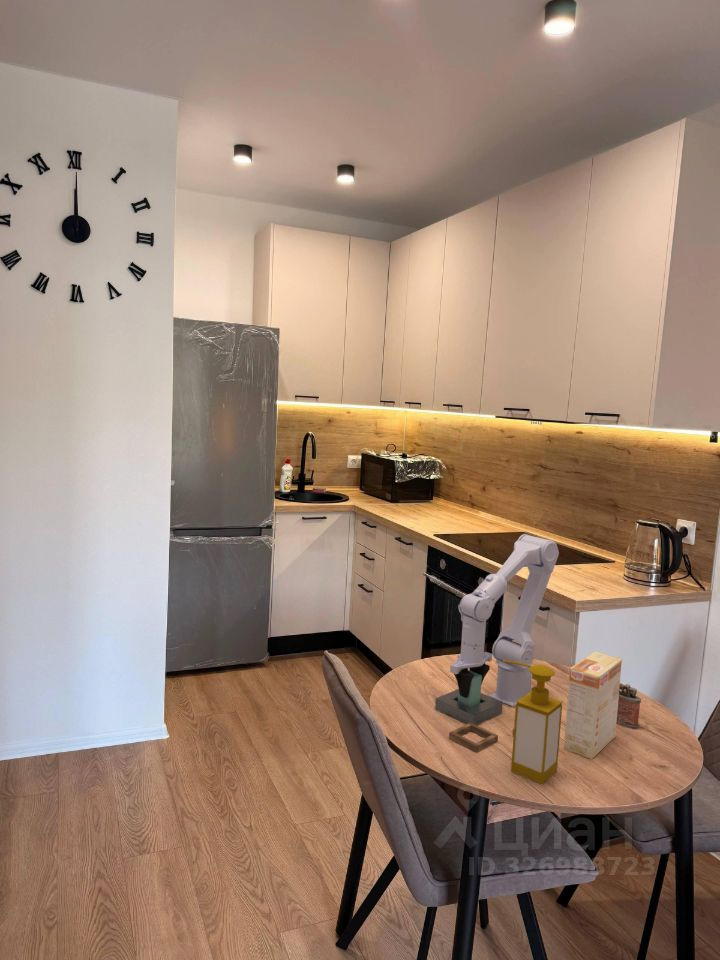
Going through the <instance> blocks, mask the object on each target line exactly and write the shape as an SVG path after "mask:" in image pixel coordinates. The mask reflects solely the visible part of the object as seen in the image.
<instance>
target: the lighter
mask: <svg viewBox="0 0 720 960" xmlns="http://www.w3.org/2000/svg"><path fill="white" fill-rule="evenodd" d="M637 691H638V689H637V688H635V687H632V686H631V685H630V684H628V683H626V684H623V683H622V682H620V687H619V699H618V711H617V722H616V725H618V726H620V727H623V728H628V729H632V730H638V729H639V728H640V727H639V726H640V725H639V720H640V719H639V718H640V717H639V716H640V707H641V703H642V698H641V697H640V696H638V695H637V693H638V692H637Z"/></svg>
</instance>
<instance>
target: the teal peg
mask: <svg viewBox="0 0 720 960" xmlns="http://www.w3.org/2000/svg"><path fill="white" fill-rule="evenodd" d="M468 670H469V669H468ZM469 672H471V673H473V674H475V675H474V676H473V678H472V681H471V684H470V690H469V695H468V697H467V698H465V697H462V696H460V692H459V688H458V702H460V703H462V704H464V705H467V706H469V707H474V706H476V705H478V704H480V696H481V693H482V685H481V681H482V675H480V674H477V673H475V672H472V671H470V670H469Z"/></svg>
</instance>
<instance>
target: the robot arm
mask: <svg viewBox="0 0 720 960" xmlns="http://www.w3.org/2000/svg"><path fill="white" fill-rule="evenodd" d="M559 555H560V552H559V548H558V545H557V543H556V542H555V541H554V540H553V539H546V538H541V537H538V536H533V535H530V534H527V533H524V534H522V535H520V536H519V537H518V539H517V540H516V541H515V542H514V544H513V551H512V553H511V554H510V555H509V556H508V558H507V560H506V561H505V562H504V563H503V564H502V566H501V567H500V568H499V570H498V571H497V572H496V573H490V574H488V575H486V577H485V578H484V579H483V581H482V582H481V583H480V584H479V585H478V586H477V588H475V589H474V590H473V592H471V593H469V594H466V595H464V596H463V597H462V598H461V600H460V602H459V604H458V606H457V607H458V608H457V609H458V611H459V613H460V620H461V622H462V625H461V626H462V630H461V643H460V644H461V645H460V653H459V654H458V655H457V659H456V660H455V662H453V663H451V664H450V665H449V666H450V669H449V672H450V673H452V674H453V675H454V678H455V681H456V682H457V687H458V689H459V692H460V696H462V697H465V698H467V697H468V695H469V690H470V684H471V681H472V678H473V676H474V675H475V674H473V673H471V672H469V670H470V671H472V672H475V673H477V674H480V675H482V681H481V686H482V684H483V682H484V679H485V678H486V676H487V674H488V672H489V671H490V670H491V669H490V665H489V664H486V662H492V661H493V658H494V659H495V663H496V664H497V671H496V685H495V686H496V687H495V692H492V693H490V694H488V696H490V697H492V698H494V699H497V700H499V701H501V702H503V704H506V705H508V706H510V707H516V704H517V703H516V701H518V700H519V699H521V698H522V697H524V696H525V695H526V694H528V693H529V692H531V690H532V679H533V678H532V673H530V672H529V667H526V666H523V665H519V664H514V663H504V662H503V660H506V661H515V662H520V663H524V664H527V665H530V666H532V663H533V660H534V651H535V649H536V644H535V642H534V641H533V639H532V637H531V636H530V634H531V632H532V629H533V626H534V623H535V620H536V618H537V616H538V612H539V609H540V606H541V604H542V602H543V598H544V595H545V592H546V589H547V587H548V584H549V581H550V578H551V575H552V574H553V571H554V569H555V566H556V563H557V560H558V557H559ZM525 566H526V568H527V569H528V577H527V578H526V579H527V580H526V582H525V584H524V587H523V589H522V593H521V596H520V599H519V602H518V605H517V607H516V609H515V612H514V615H513V618H512V621H511V623H510V626H509V627H508V628H505V629H503V630H501V631H500V633H499V634H498V637H497V639H496V640H495V641H494V643H493V645H492V649H491V653H490V652H487V651H485V642H486V641H485V640H486V627H487V626H486V625H487V620H489V618H490V617H491V616H492V613H493V610H494V608H495V604H496V603H497V601H498V600H499V599H500V598H501V597H502V596H503V594H504V593H505V592H507V589H508V585H507V584H508V582H509V581H510V580H511V579H512V578H513V577H514V576H515V575H516V574H518V573H519V572H520V571H521V570H522V569H523V568H524V567H525ZM515 641H516V642H515ZM518 642H519V643H518Z"/></svg>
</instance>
